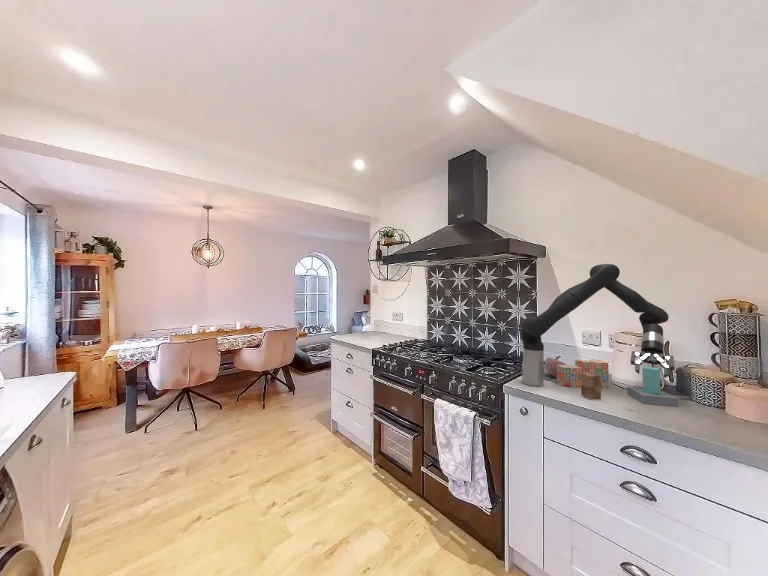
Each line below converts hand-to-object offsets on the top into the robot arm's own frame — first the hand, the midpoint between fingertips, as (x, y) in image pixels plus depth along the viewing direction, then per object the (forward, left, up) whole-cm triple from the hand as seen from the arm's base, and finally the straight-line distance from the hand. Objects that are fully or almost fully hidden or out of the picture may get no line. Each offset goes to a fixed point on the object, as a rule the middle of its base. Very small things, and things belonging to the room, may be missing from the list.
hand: (651, 374), depth 126 cm
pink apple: (-28, +29, -11) cm, 41 cm away
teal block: (0, +1, -7) cm, 7 cm away
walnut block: (-24, -2, -11) cm, 26 cm away
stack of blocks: (-20, +16, -12) cm, 28 cm away
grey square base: (0, +1, -12) cm, 12 cm away
